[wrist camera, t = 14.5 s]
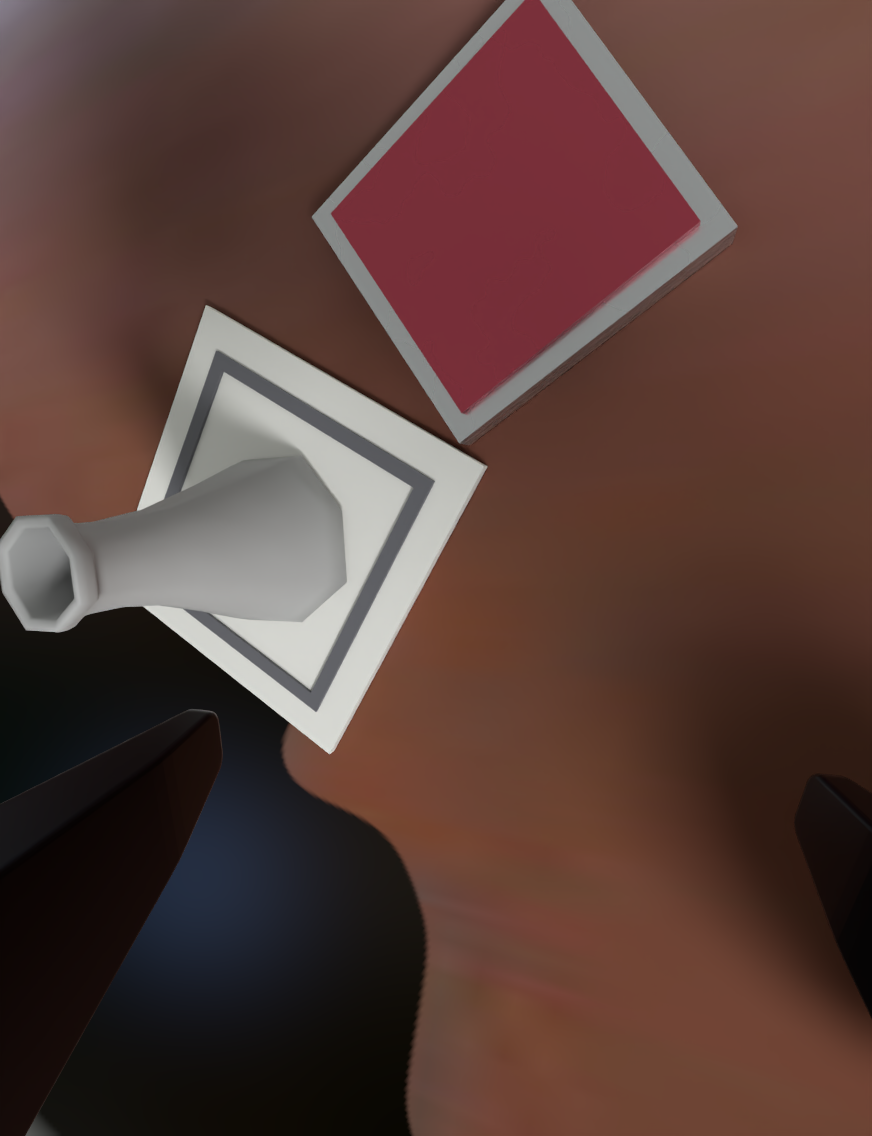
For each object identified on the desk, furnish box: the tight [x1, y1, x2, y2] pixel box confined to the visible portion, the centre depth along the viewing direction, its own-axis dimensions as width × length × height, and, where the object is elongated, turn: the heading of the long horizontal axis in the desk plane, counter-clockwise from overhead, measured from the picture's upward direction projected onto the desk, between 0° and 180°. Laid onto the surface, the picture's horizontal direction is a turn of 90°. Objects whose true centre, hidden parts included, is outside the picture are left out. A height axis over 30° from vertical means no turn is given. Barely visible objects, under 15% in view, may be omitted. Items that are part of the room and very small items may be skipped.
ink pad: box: [312, 0, 738, 446], centre depth 18 cm, size 10×10×2 cm
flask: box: [0, 455, 347, 632], centre depth 19 cm, size 7×7×10 cm
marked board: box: [137, 305, 488, 754], centre depth 24 cm, size 14×14×1 cm
